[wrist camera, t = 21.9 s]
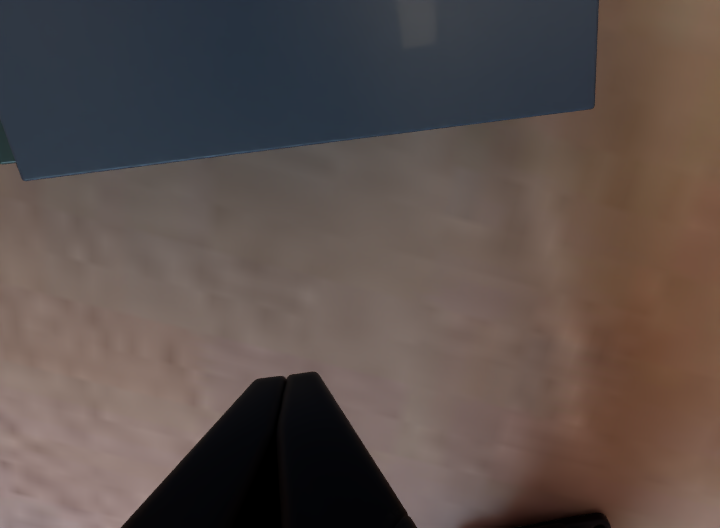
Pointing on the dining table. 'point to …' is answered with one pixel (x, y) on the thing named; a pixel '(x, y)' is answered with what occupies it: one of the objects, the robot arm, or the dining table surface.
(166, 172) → the dining table surface
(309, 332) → the dining table surface
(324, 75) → the cabinet
